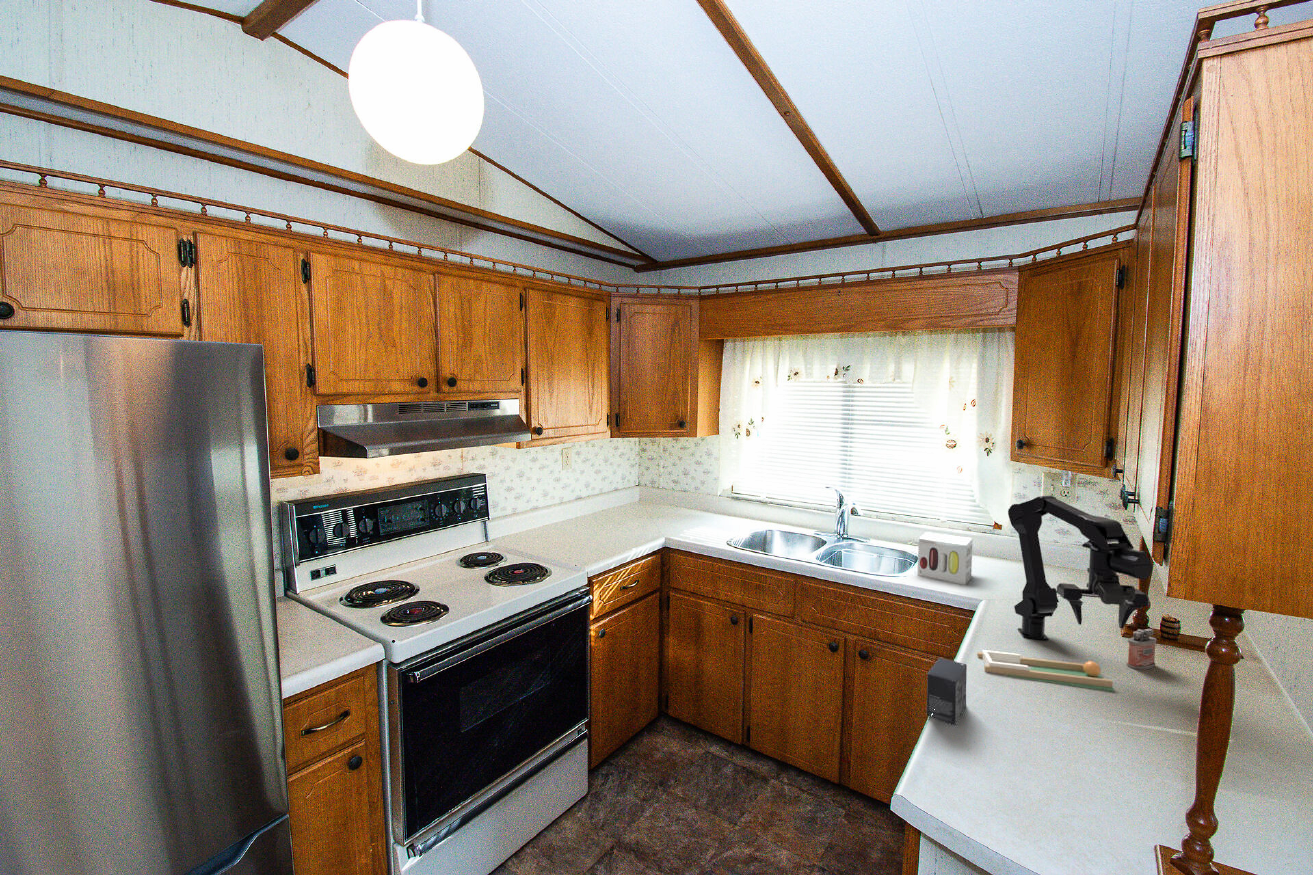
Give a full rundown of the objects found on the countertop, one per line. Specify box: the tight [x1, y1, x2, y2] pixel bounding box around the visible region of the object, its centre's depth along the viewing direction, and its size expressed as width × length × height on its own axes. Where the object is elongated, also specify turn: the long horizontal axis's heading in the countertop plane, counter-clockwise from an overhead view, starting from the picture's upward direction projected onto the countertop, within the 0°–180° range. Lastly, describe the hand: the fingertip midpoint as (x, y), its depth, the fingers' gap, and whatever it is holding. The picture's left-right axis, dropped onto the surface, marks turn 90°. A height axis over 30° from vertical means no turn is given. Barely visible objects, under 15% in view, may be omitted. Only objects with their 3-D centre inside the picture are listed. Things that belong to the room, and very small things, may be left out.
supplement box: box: [917, 531, 974, 586], centre depth 226 cm, size 17×13×18 cm
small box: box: [926, 657, 968, 726], centre depth 133 cm, size 11×6×10 cm, turn 141°
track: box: [976, 651, 1115, 692], centre depth 152 cm, size 11×28×2 cm, turn 73°
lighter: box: [1126, 628, 1158, 671], centre depth 156 cm, size 8×3×10 cm, turn 105°
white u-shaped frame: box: [981, 649, 1030, 671], centre depth 154 cm, size 8×9×2 cm
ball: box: [1083, 660, 1102, 676], centre depth 150 cm, size 4×4×4 cm
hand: (1100, 626), depth 153 cm, fingers open, 9 cm apart
